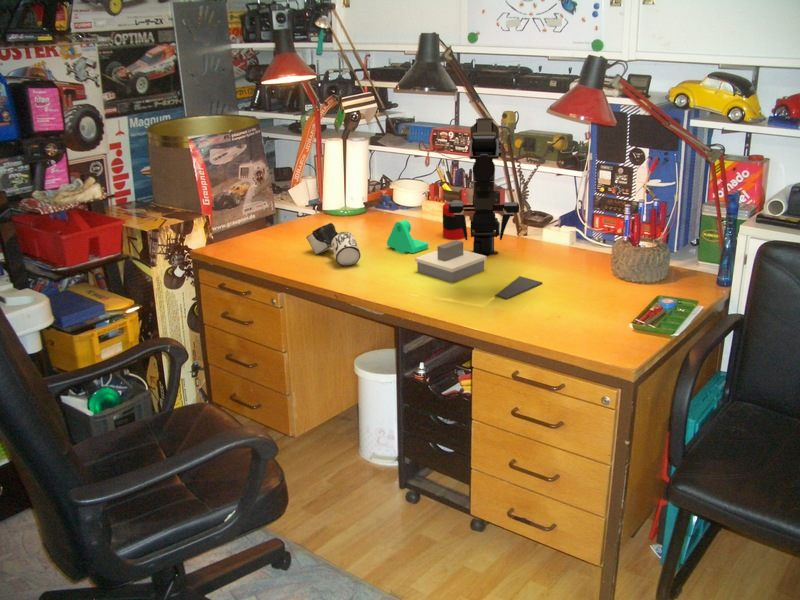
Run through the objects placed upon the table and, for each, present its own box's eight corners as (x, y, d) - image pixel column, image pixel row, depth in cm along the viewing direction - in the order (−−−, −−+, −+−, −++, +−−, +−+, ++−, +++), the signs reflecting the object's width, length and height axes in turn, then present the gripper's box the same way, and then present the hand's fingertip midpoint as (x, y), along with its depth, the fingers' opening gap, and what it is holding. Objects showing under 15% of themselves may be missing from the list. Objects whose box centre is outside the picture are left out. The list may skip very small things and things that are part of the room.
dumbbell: (369, 265, 245) (367, 234, 241) (341, 272, 240) (339, 240, 236) (330, 245, 265) (328, 217, 261) (303, 251, 260) (301, 222, 256)
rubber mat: (498, 271, 235) (498, 270, 235) (542, 283, 224) (542, 282, 224) (462, 286, 225) (462, 284, 225) (506, 299, 214) (506, 297, 214)
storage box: (449, 262, 245) (449, 249, 243) (484, 272, 235) (484, 259, 234) (417, 273, 236) (417, 261, 234) (452, 284, 226) (452, 271, 225)
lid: (449, 249, 244) (448, 233, 242) (486, 259, 234) (486, 243, 232) (414, 261, 234) (414, 245, 232) (452, 272, 224) (452, 255, 222)
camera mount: (429, 250, 256) (428, 220, 253) (412, 256, 252) (411, 225, 248) (404, 243, 265) (403, 213, 261) (387, 249, 260) (386, 218, 256)
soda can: (457, 232, 274) (457, 198, 270) (469, 237, 268) (469, 202, 264) (438, 235, 271) (438, 201, 266) (450, 241, 265) (450, 206, 260)
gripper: (447, 181, 204) (447, 241, 206) (520, 180, 202) (519, 241, 204) (449, 182, 215) (449, 239, 217) (518, 181, 213) (518, 239, 215)
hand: (483, 240), depth 213 cm, fingers open, 9 cm apart
